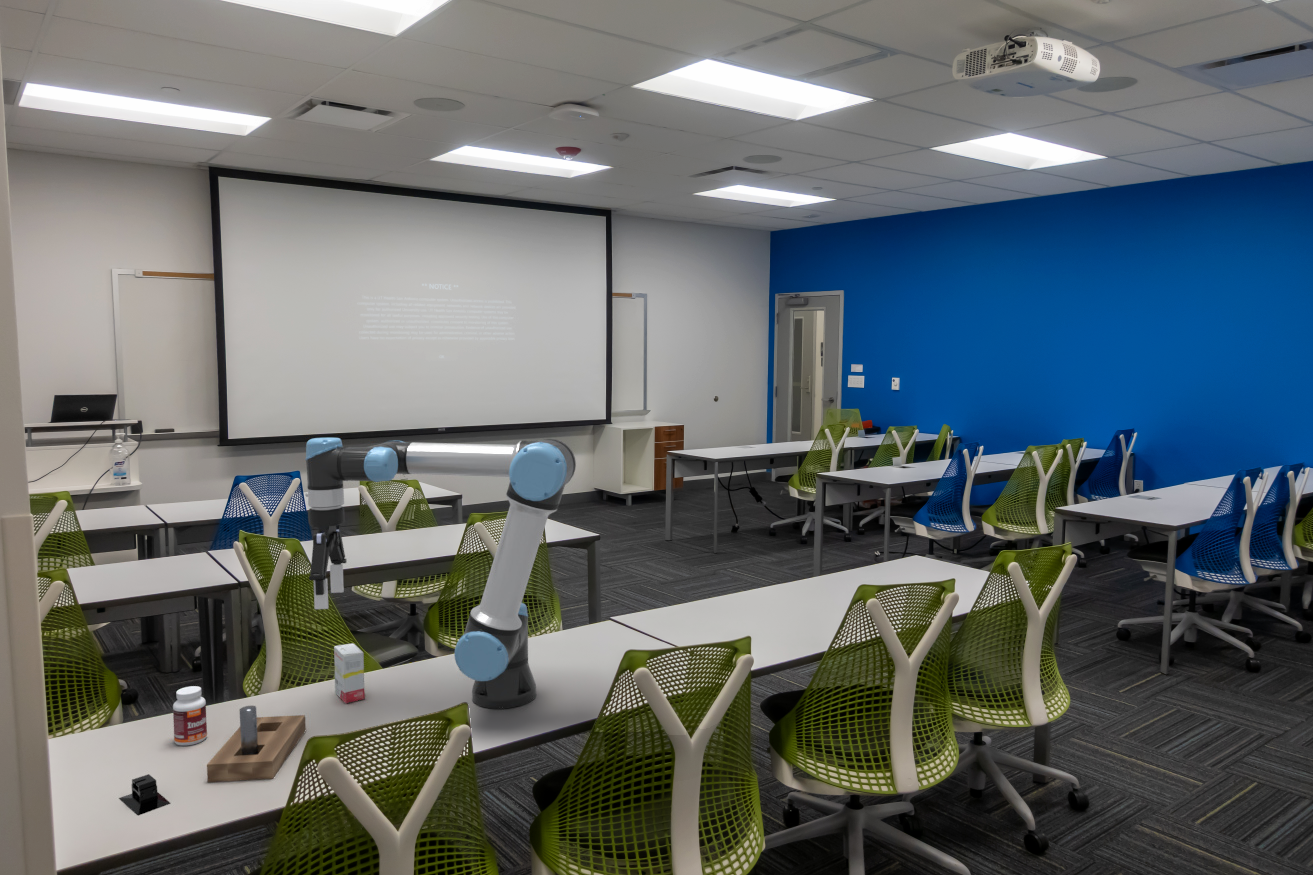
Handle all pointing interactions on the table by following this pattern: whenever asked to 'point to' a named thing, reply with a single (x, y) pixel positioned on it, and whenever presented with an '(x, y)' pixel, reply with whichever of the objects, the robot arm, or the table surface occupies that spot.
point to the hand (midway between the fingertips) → (329, 600)
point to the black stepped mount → (144, 796)
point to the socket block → (272, 750)
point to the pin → (248, 730)
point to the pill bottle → (189, 716)
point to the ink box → (349, 672)
